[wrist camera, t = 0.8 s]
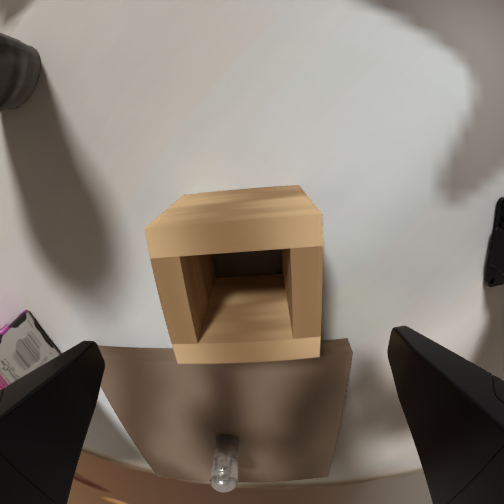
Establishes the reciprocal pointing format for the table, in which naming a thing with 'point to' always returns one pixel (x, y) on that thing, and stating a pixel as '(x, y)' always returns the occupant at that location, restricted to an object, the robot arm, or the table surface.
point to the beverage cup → (17, 72)
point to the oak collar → (239, 288)
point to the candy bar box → (23, 348)
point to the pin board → (230, 413)
